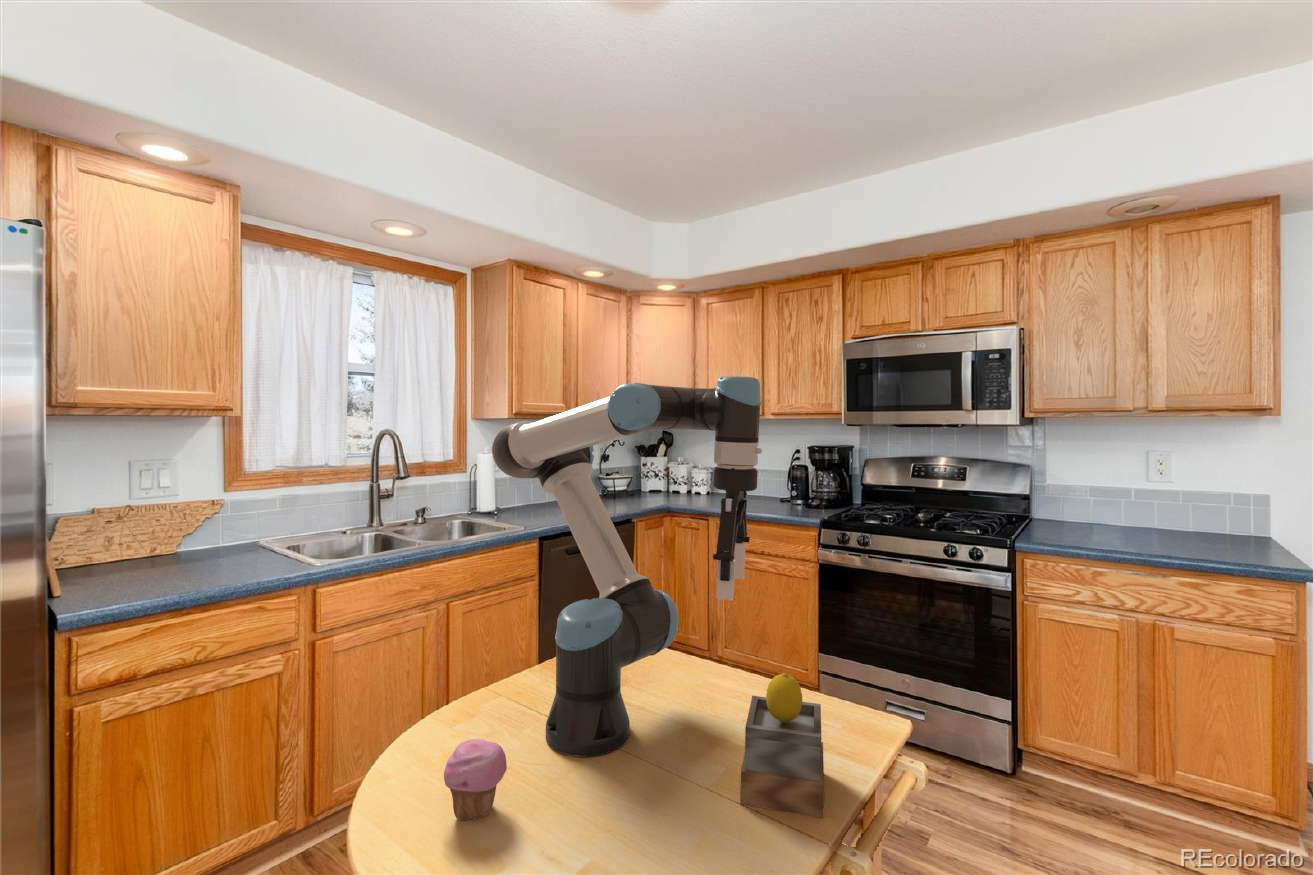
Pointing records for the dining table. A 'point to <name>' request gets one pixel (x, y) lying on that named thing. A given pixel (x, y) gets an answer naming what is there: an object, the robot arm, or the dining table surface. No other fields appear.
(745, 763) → the grey storage bin
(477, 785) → the cupcake
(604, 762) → the dining table surface
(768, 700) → the lemon
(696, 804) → the dining table surface
